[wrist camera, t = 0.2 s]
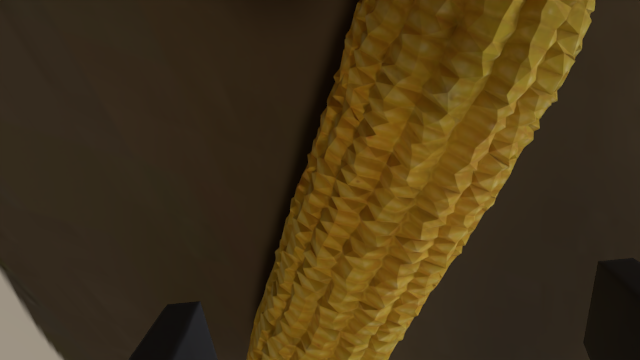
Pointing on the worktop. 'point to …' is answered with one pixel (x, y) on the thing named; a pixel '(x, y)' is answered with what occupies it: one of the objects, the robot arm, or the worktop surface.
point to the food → (408, 164)
